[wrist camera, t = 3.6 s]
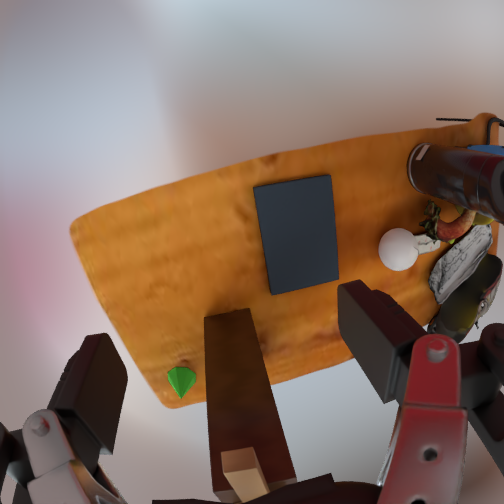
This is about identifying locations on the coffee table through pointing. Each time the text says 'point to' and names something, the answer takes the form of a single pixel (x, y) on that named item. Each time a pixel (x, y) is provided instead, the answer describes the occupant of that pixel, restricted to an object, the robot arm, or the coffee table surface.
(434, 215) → the mushroom
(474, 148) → the alarm clock
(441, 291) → the stone
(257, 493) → the brush
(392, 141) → the coffee table surface
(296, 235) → the mat
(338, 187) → the coffee table surface
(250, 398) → the tall dark wooden block
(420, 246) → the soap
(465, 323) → the athletic shoe
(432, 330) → the toy car
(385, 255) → the white egg
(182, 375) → the gemstone
